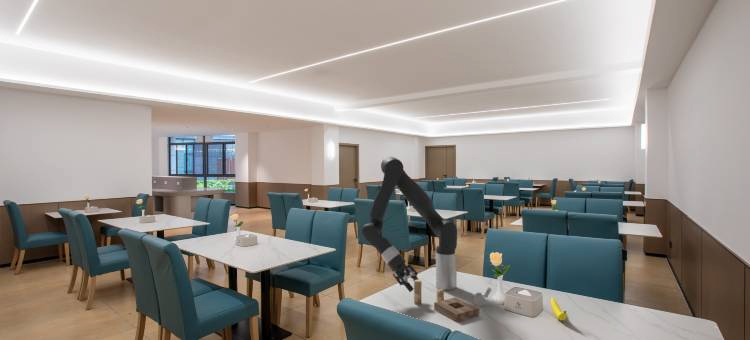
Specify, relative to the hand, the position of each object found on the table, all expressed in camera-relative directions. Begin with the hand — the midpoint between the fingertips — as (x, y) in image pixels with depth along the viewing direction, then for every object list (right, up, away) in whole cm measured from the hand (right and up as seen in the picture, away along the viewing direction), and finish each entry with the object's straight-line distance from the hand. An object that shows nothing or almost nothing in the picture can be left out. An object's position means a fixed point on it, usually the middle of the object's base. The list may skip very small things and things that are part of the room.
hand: (416, 287), depth 165 cm
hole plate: (+15, -7, -10) cm, 20 cm away
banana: (+55, -7, -16) cm, 58 cm away
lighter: (+29, -7, -3) cm, 30 cm away
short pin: (+11, -7, +3) cm, 14 cm away
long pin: (+1, -7, 0) cm, 7 cm away
